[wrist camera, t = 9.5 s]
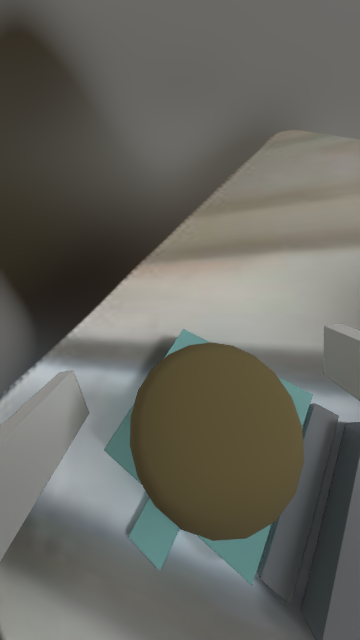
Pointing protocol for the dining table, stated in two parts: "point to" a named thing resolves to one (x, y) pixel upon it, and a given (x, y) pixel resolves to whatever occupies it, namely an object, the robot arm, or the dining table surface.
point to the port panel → (286, 523)
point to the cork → (216, 441)
